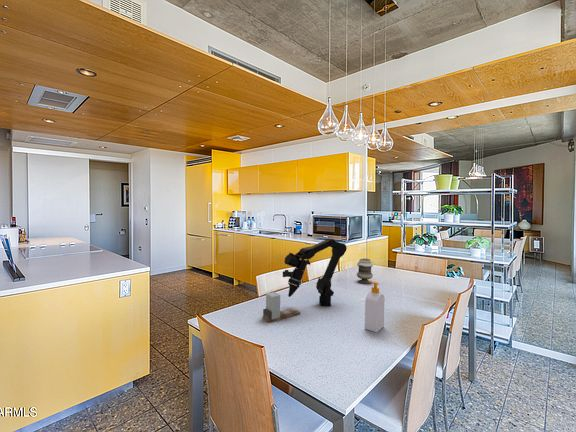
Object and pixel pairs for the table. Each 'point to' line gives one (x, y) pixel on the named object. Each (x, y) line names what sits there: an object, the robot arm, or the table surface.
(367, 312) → the soap bottle
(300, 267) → the robot arm
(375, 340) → the table surface
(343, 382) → the table surface
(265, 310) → the rail board
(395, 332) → the table surface
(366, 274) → the stone urn vase
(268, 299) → the block
